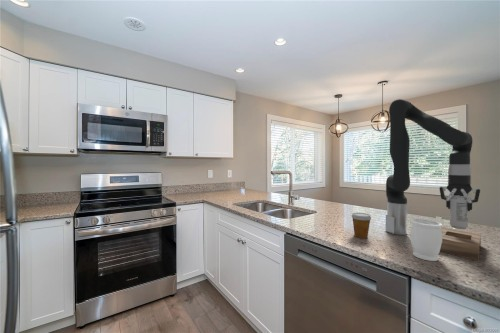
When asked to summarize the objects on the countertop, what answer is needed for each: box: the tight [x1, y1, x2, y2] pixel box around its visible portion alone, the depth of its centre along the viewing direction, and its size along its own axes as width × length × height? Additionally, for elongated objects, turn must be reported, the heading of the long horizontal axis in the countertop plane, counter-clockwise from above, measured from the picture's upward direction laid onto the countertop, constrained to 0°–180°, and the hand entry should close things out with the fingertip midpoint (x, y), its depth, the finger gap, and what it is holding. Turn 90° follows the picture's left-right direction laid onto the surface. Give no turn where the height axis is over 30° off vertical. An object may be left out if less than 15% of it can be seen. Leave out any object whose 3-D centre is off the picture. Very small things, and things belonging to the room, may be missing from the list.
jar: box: [409, 218, 443, 262], centre depth 90 cm, size 11×10×15 cm
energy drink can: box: [449, 195, 469, 230], centre depth 100 cm, size 6×6×15 cm
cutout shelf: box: [439, 226, 482, 261], centre depth 100 cm, size 24×14×6 cm, turn 131°
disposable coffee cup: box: [351, 212, 372, 239], centre depth 115 cm, size 10×10×12 cm
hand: (458, 209), depth 100 cm, fingers closed on energy drink can, 6 cm apart
